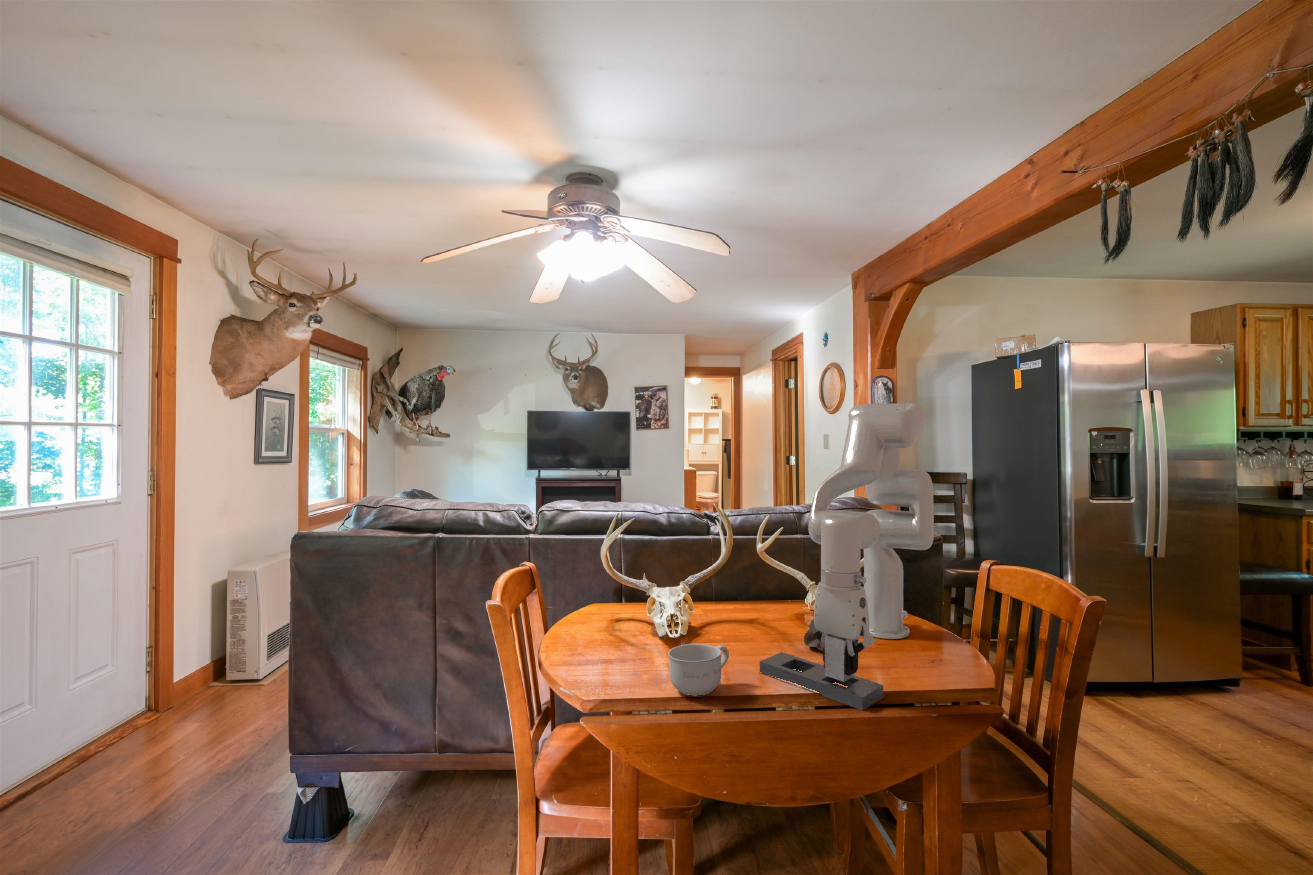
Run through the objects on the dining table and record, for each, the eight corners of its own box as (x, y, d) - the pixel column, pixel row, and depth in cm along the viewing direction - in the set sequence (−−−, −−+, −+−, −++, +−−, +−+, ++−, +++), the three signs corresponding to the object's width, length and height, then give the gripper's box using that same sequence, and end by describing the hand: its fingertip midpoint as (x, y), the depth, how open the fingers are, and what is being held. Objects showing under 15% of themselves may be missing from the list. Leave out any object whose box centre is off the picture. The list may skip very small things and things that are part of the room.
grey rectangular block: (836, 669, 124) (836, 627, 124) (855, 675, 121) (855, 632, 121) (824, 675, 121) (824, 632, 121) (843, 681, 118) (843, 637, 118)
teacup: (682, 706, 115) (682, 664, 115) (659, 684, 125) (659, 645, 125) (745, 693, 121) (745, 653, 121) (718, 673, 131) (718, 636, 131)
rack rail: (759, 672, 131) (759, 661, 131) (781, 663, 136) (781, 651, 136) (862, 710, 113) (862, 697, 113) (883, 697, 119) (883, 684, 119)
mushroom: (840, 644, 139) (830, 618, 142) (807, 655, 140) (797, 629, 144) (844, 650, 145) (834, 625, 149) (812, 661, 147) (803, 635, 150)
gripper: (889, 582, 117) (889, 677, 117) (814, 568, 130) (814, 654, 130) (870, 589, 112) (870, 688, 112) (793, 574, 124) (793, 662, 125)
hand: (840, 668), depth 121 cm, fingers closed on grey rectangular block, 4 cm apart
